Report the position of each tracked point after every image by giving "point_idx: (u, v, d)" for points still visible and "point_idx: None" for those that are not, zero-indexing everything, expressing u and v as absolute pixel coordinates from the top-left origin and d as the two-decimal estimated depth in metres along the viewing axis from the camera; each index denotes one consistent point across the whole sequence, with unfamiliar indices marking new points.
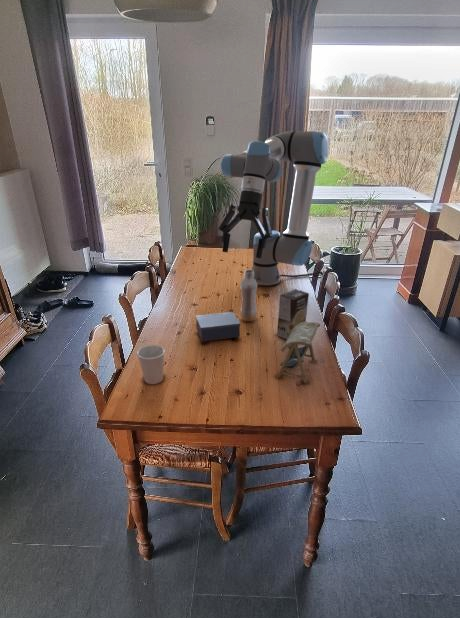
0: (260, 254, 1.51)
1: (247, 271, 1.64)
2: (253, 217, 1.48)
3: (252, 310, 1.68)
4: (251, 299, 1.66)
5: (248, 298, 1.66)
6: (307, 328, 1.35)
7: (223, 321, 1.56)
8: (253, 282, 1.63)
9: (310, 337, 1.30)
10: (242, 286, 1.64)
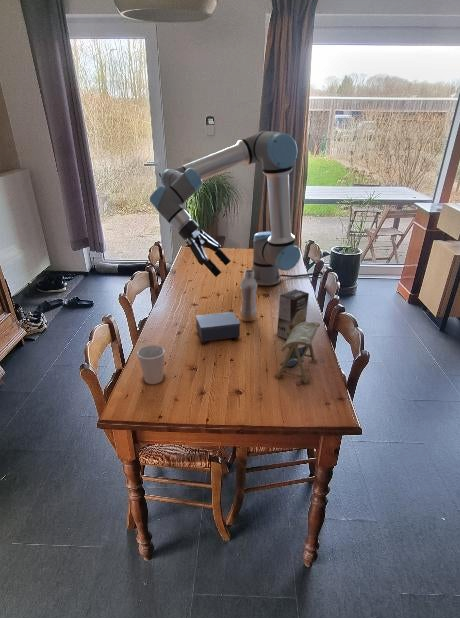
0: (216, 272, 1.58)
1: (247, 271, 1.64)
2: None
3: (252, 310, 1.68)
4: (251, 299, 1.66)
5: (248, 298, 1.66)
6: (307, 328, 1.35)
7: (223, 321, 1.56)
8: (253, 282, 1.63)
9: (310, 337, 1.30)
10: (242, 286, 1.64)
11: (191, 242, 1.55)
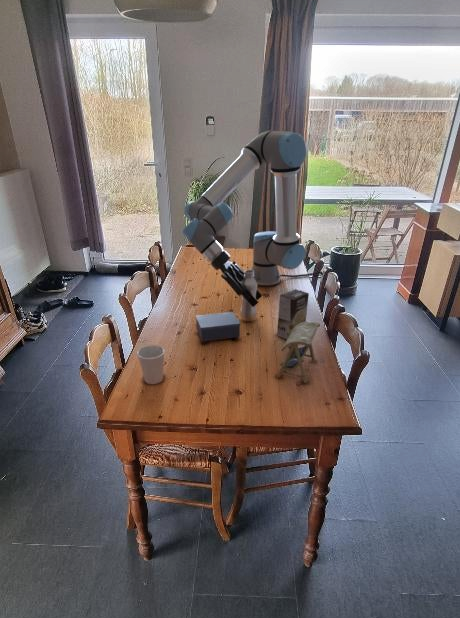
0: (253, 302, 1.64)
1: (247, 271, 1.64)
2: None
3: (252, 310, 1.68)
4: None
5: None
6: (307, 328, 1.35)
7: (223, 321, 1.56)
8: (253, 282, 1.63)
9: (310, 337, 1.30)
10: None
11: (227, 276, 1.59)
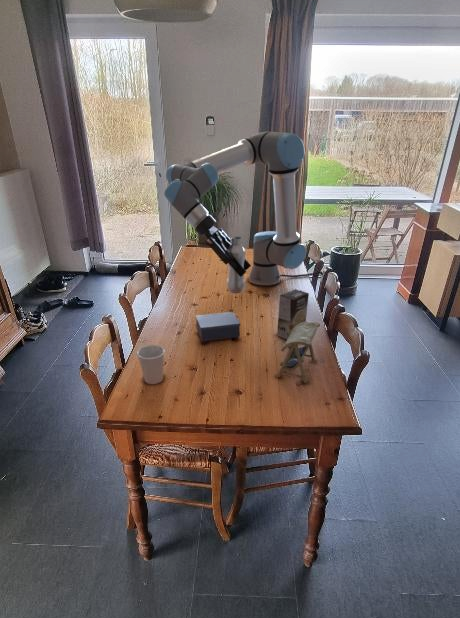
0: (241, 271, 1.52)
1: (234, 238, 1.51)
2: None
3: (240, 281, 1.56)
4: None
5: None
6: (307, 328, 1.35)
7: (223, 321, 1.56)
8: (241, 249, 1.50)
9: (310, 337, 1.30)
10: None
11: (212, 242, 1.46)
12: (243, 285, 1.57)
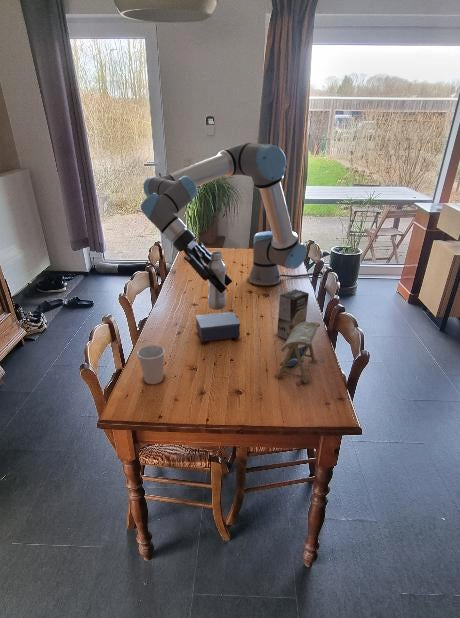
0: (221, 288, 1.46)
1: (214, 253, 1.46)
2: None
3: (221, 297, 1.50)
4: None
5: None
6: (307, 328, 1.35)
7: (223, 321, 1.56)
8: (221, 265, 1.45)
9: (310, 337, 1.30)
10: None
11: (190, 258, 1.41)
12: (224, 301, 1.52)
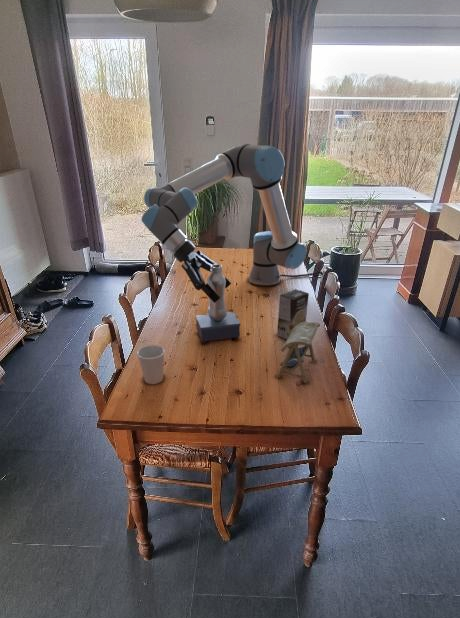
0: (215, 297, 1.45)
1: (214, 265, 1.48)
2: None
3: (221, 309, 1.52)
4: (219, 296, 1.50)
5: None
6: (307, 328, 1.35)
7: (223, 321, 1.56)
8: (221, 278, 1.47)
9: (310, 337, 1.30)
10: (209, 282, 1.48)
11: (187, 266, 1.42)
12: (224, 313, 1.54)
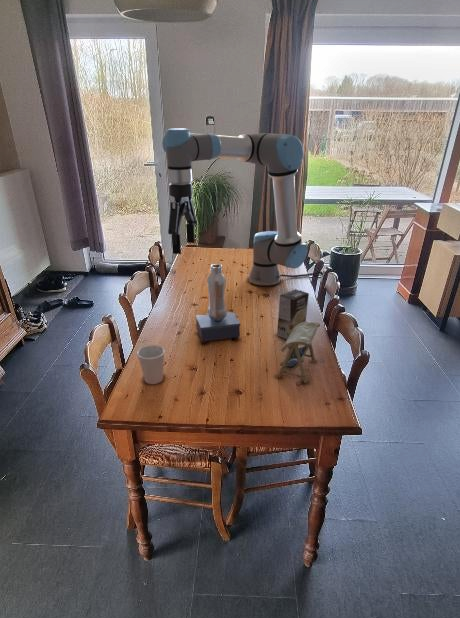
0: (177, 250, 1.45)
1: (214, 265, 1.48)
2: None
3: (221, 309, 1.52)
4: (219, 296, 1.50)
5: (215, 295, 1.50)
6: (307, 328, 1.35)
7: (223, 321, 1.56)
8: (221, 278, 1.47)
9: (310, 337, 1.30)
10: (209, 282, 1.48)
11: (175, 207, 1.38)
12: (224, 313, 1.54)
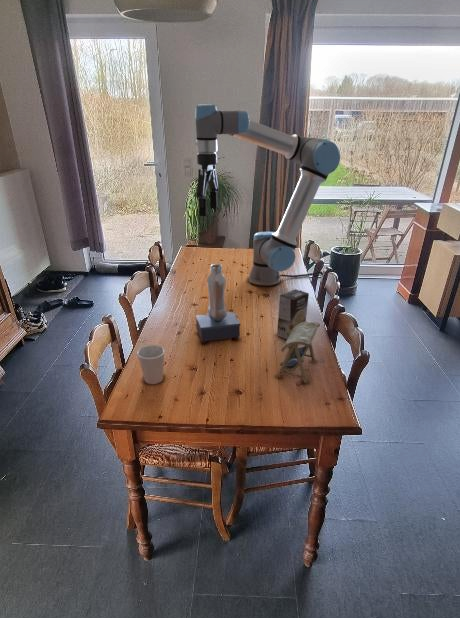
0: (203, 212, 1.65)
1: (214, 265, 1.48)
2: None
3: (221, 309, 1.52)
4: (219, 296, 1.50)
5: (215, 295, 1.50)
6: (307, 328, 1.35)
7: (223, 321, 1.56)
8: (221, 278, 1.47)
9: (310, 337, 1.30)
10: (209, 282, 1.48)
11: (203, 173, 1.58)
12: (224, 313, 1.54)
